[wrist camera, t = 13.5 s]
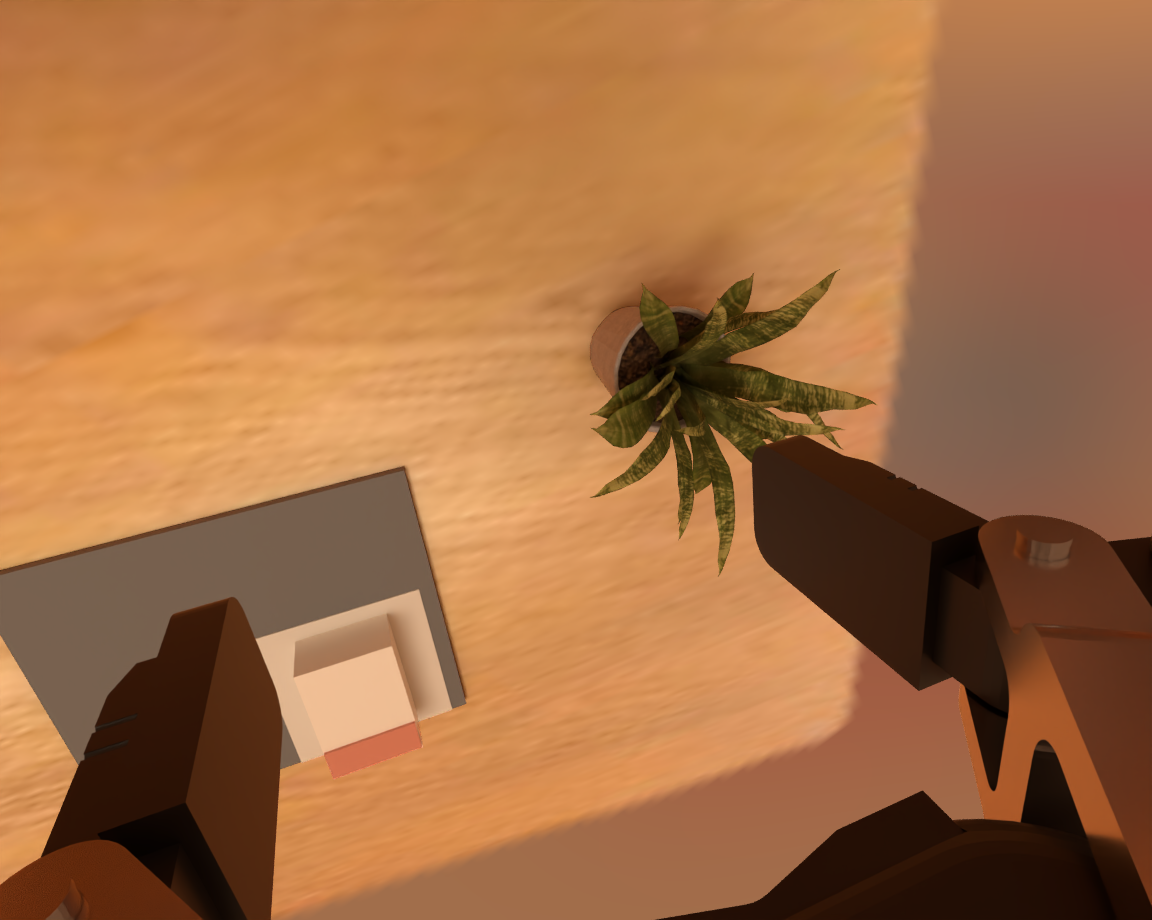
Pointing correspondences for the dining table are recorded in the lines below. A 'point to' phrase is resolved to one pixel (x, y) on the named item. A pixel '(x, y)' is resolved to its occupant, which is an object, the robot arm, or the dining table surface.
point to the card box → (357, 695)
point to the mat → (255, 578)
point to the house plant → (702, 390)
